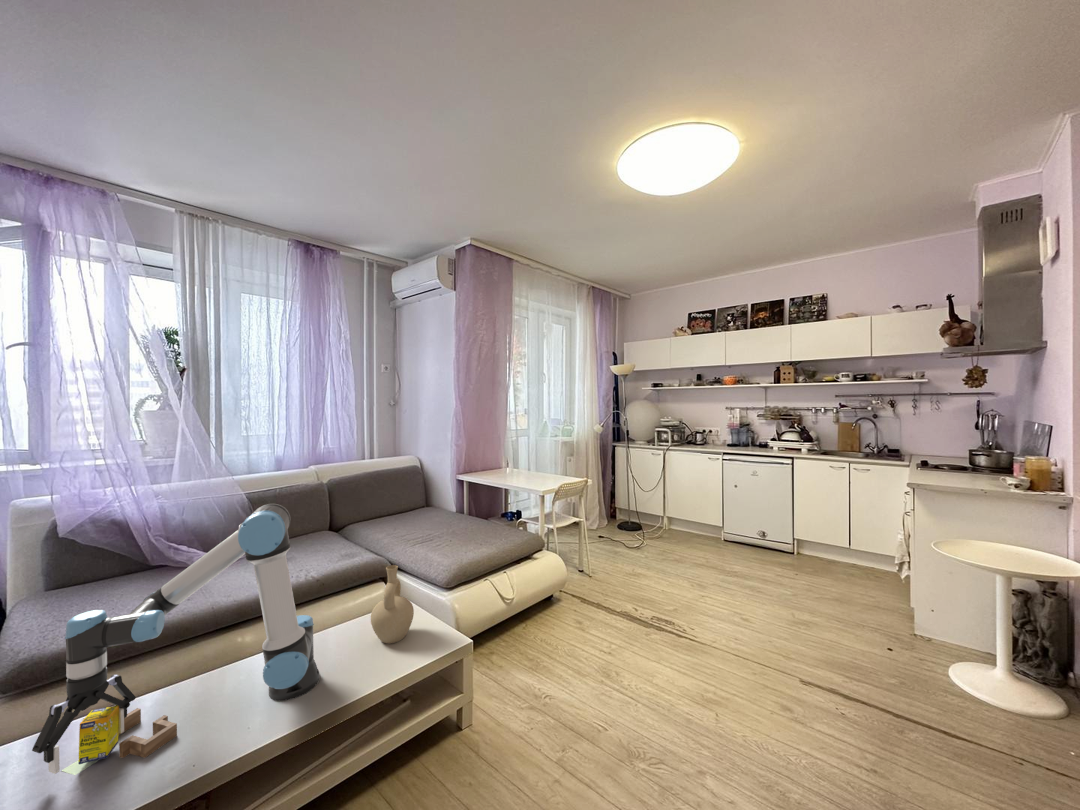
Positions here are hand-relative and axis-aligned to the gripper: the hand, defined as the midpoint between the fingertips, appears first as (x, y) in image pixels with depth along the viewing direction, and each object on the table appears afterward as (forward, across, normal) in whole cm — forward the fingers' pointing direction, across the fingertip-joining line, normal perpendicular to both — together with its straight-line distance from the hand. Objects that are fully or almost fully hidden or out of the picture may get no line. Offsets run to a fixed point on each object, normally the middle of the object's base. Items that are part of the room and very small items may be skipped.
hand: (88, 750), depth 114 cm
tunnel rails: (+4, -10, 0) cm, 10 cm away
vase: (+4, -74, +43) cm, 86 cm away
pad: (+4, 0, 0) cm, 4 cm away
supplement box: (+3, -2, 0) cm, 4 cm away
